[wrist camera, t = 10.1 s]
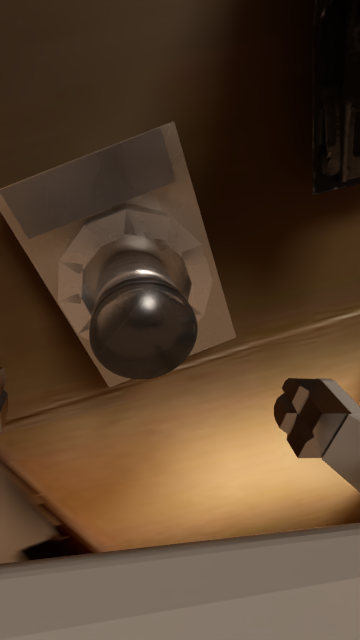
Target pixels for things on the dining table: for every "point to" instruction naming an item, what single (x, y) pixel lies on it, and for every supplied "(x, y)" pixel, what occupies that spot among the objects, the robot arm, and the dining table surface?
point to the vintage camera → (336, 95)
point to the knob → (140, 318)
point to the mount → (118, 229)
